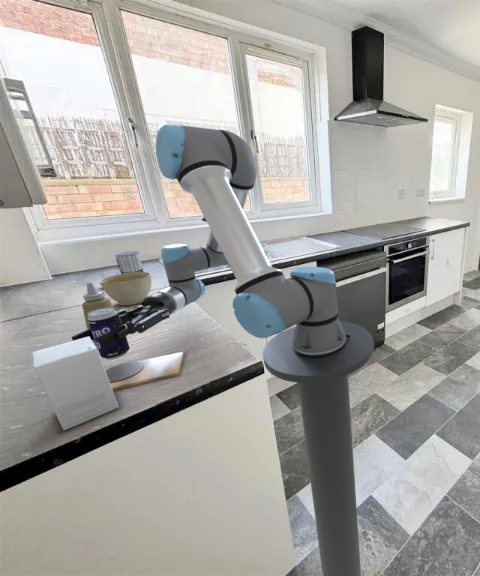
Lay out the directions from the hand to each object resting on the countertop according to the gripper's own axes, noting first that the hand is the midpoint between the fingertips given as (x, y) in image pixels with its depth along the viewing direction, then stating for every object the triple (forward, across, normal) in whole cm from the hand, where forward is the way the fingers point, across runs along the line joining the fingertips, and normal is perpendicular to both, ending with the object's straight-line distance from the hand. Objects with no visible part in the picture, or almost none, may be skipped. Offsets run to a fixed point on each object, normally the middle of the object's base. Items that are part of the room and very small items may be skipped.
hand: (87, 342), depth 70 cm
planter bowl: (-54, +41, -13) cm, 69 cm away
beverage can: (-5, 0, -7) cm, 8 cm away
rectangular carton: (+8, -4, -12) cm, 15 cm away
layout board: (-6, -3, -12) cm, 14 cm away
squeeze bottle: (-26, +24, -13) cm, 38 cm away
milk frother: (-77, +66, -13) cm, 102 cm away
